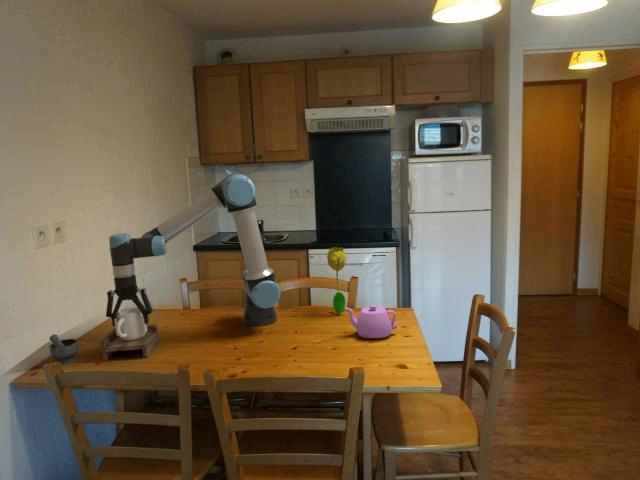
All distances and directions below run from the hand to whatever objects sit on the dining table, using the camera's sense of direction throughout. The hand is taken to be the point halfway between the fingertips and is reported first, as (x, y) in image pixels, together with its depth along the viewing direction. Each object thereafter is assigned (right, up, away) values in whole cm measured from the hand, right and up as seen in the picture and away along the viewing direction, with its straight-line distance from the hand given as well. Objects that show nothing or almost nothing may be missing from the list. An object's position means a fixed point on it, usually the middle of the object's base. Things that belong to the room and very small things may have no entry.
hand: (132, 333), depth 183 cm
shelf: (-1, -7, +2) cm, 8 cm away
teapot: (+91, -2, +4) cm, 91 cm away
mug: (-1, -2, 0) cm, 3 cm away
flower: (+80, +2, +30) cm, 86 cm away
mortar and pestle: (-23, -10, -5) cm, 25 cm away
